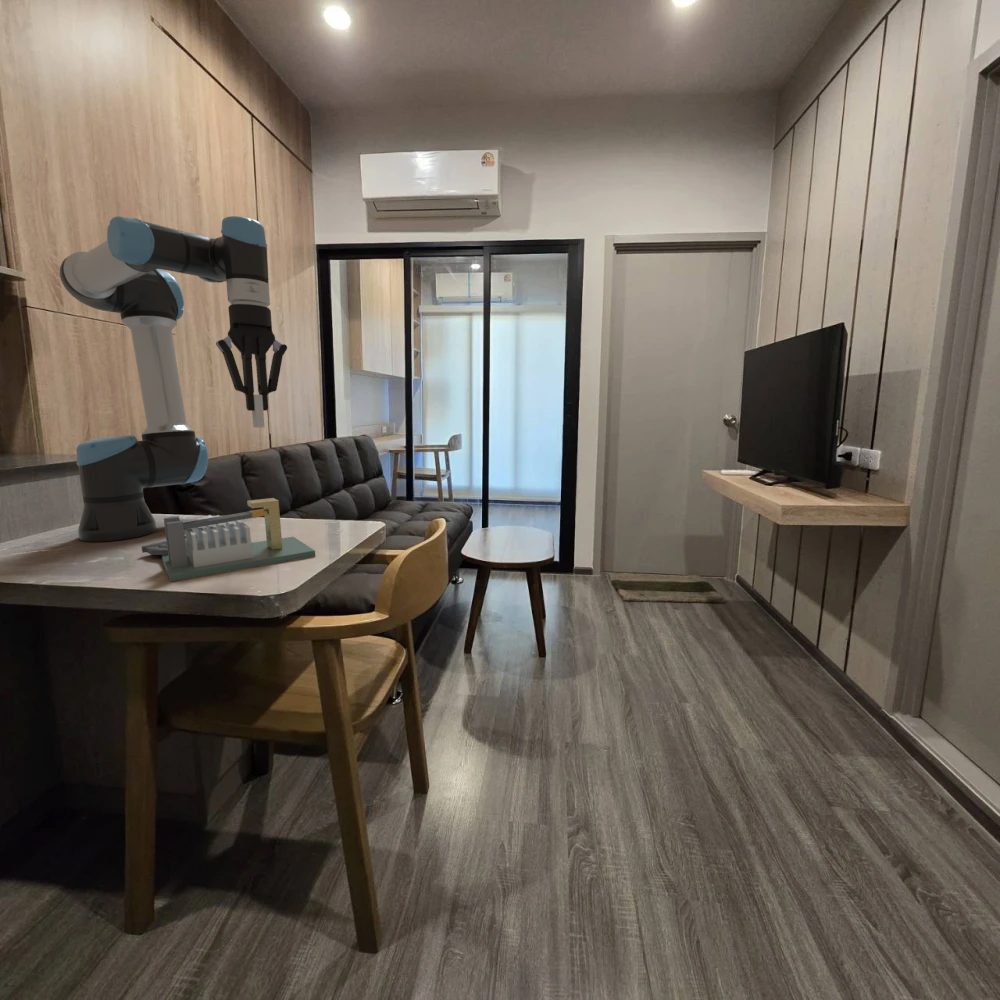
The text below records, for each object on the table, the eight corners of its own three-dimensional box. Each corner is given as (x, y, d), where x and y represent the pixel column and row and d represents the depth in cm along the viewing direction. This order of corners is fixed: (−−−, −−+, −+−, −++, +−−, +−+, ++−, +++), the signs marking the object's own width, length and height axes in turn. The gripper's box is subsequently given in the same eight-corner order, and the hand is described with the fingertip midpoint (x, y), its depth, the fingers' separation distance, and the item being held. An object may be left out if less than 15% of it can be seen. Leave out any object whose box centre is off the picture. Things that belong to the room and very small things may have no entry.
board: (162, 562, 102) (156, 514, 100) (293, 541, 117) (290, 500, 115) (170, 581, 90) (164, 528, 88) (315, 556, 105) (312, 510, 103)
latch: (251, 548, 106) (247, 500, 105) (277, 544, 109) (273, 497, 108) (256, 552, 103) (251, 503, 102) (282, 548, 106) (278, 500, 105)
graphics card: (208, 525, 121) (241, 528, 116) (210, 540, 122) (243, 545, 116) (130, 542, 107) (164, 547, 101) (133, 559, 107) (167, 566, 102)
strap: (169, 530, 97) (167, 523, 97) (263, 514, 107) (262, 507, 106) (171, 533, 94) (169, 526, 94) (267, 516, 104) (266, 509, 104)
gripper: (216, 298, 95) (227, 428, 99) (289, 307, 103) (297, 427, 107) (208, 304, 100) (219, 427, 105) (278, 312, 108) (286, 425, 113)
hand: (258, 427), depth 106 cm, fingers closed
